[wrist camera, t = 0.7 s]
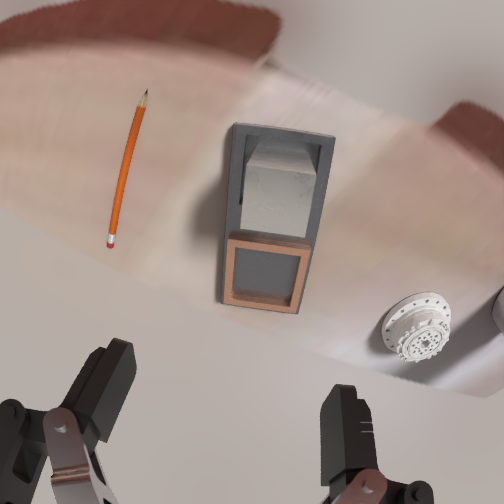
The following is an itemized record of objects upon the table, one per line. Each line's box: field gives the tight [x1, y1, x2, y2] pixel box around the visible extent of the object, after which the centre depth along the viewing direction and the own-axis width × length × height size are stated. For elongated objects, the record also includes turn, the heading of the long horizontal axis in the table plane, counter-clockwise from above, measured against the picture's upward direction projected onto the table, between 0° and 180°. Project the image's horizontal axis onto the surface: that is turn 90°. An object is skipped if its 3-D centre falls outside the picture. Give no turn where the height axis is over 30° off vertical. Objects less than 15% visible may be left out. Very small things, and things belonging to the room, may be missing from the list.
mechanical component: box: [382, 292, 451, 363], centre depth 33 cm, size 10×4×10 cm
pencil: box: [107, 89, 148, 248], centre depth 29 cm, size 1×19×1 cm, turn 158°
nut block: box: [240, 145, 317, 238], centre depth 23 cm, size 4×4×8 cm
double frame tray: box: [221, 122, 336, 314], centre depth 30 cm, size 9×20×2 cm, turn 174°
